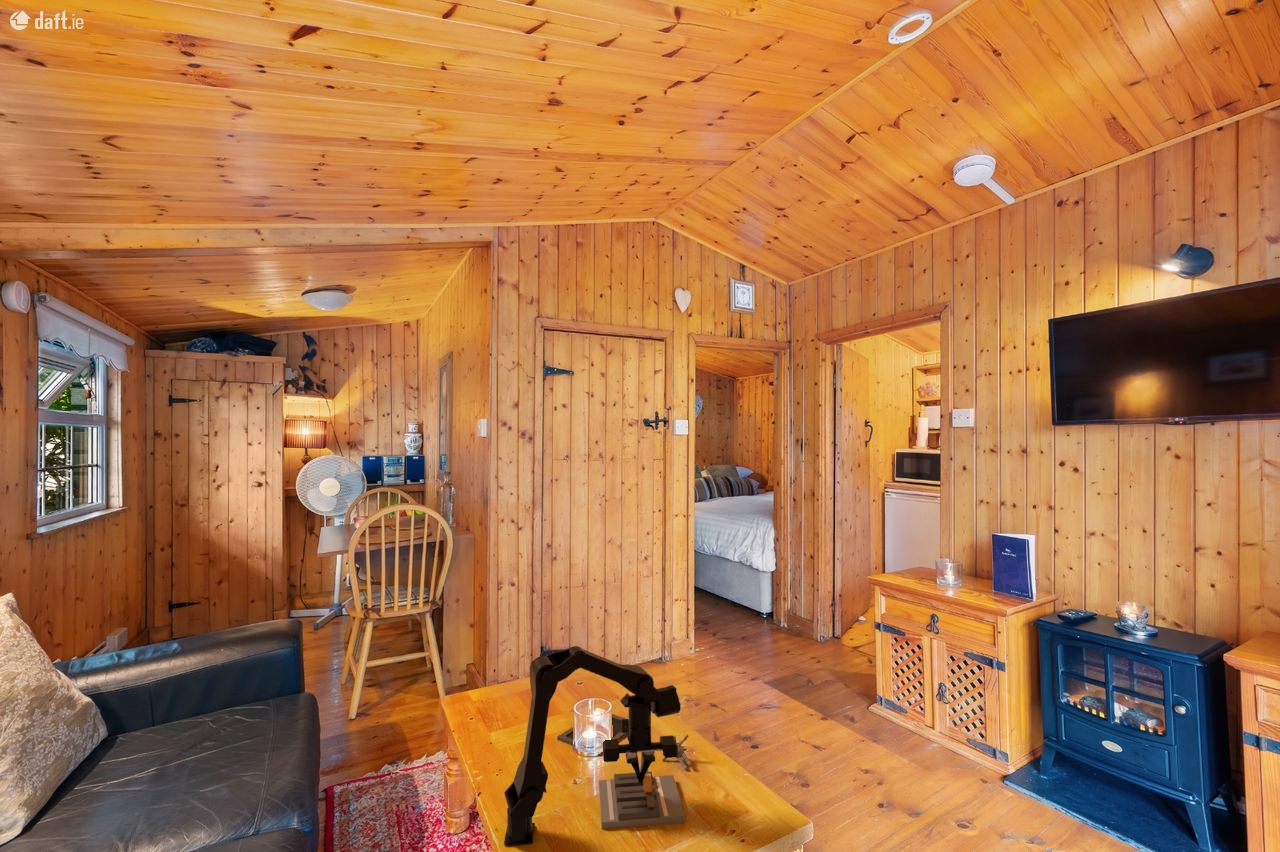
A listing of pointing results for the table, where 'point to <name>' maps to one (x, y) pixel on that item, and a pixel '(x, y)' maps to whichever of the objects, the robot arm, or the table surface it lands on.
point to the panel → (642, 822)
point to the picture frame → (617, 734)
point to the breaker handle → (647, 783)
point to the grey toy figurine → (681, 754)
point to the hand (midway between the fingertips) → (640, 782)
